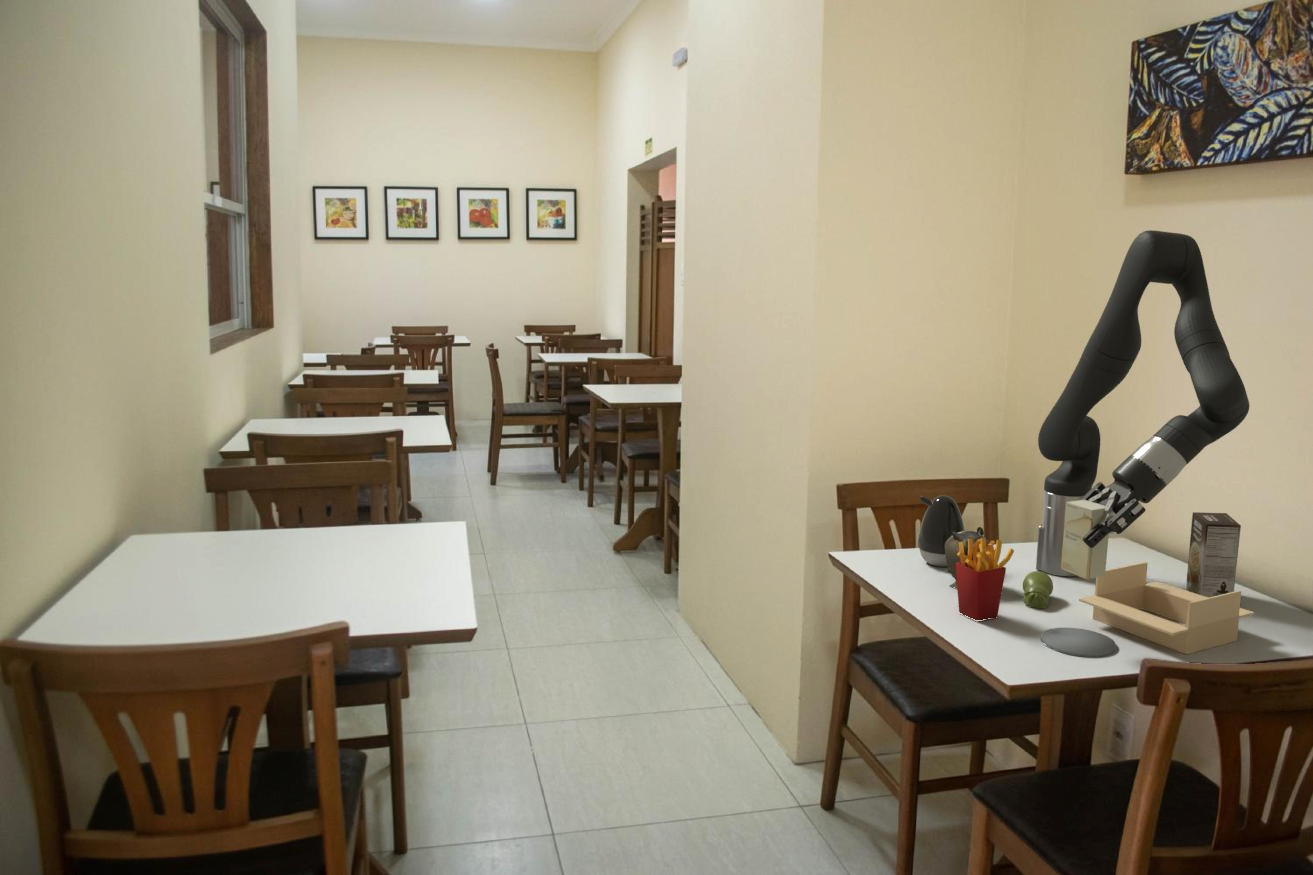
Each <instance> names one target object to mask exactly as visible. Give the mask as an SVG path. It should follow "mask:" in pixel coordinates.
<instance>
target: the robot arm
mask: <svg viewBox="0 0 1313 875" xmlns="http://www.w3.org/2000/svg"><path fill="white" fill-rule="evenodd" d="M1203 260H1204V259H1203V256H1202V252H1201V250H1200V247H1199V245H1198V243H1197V241H1196V240H1195V238H1194V237H1192V236H1190V235H1188V234H1184V233H1178V232H1170V231H1161V230H1145V231H1143V232H1140V233H1139V234H1138V235H1137V236H1136V237H1135V238H1134V239H1133V240H1132V243H1131V244H1130V246H1129V248H1128V250H1127V252H1126V254H1125V257H1124V259H1123V262H1122V264H1121V267H1120V269H1119V273H1118V276H1117V279H1116V281H1115V283H1114V286H1113V289H1112V290H1111V294H1110V296H1109V298H1108V301H1107V303H1106V305H1105V307H1104V309H1103V311H1102V313H1101V316H1100V318H1099V320H1098V322H1097V324H1096V326H1095V328H1094V330H1092V331H1093V332H1092V333H1091V335H1090V336H1089V339H1088V341H1087V343H1086V345H1085V346H1084V349H1083V351H1082V354H1081V356H1080V358H1079V360H1078V362H1077V364H1076V366H1075V368H1074V370H1073V371H1072V374H1071V376H1070V378H1069V379H1068V381H1067V383H1066V386H1065V387H1064V390H1062V393H1061V394H1060V396H1059V398H1058V400H1056V403H1054V405H1053V407H1052V408H1051V410H1050V411H1049V413H1048V415H1047V416H1046V418H1045V420H1043V423H1042V425H1041V427H1040V429H1039V433H1038V436H1037V443H1038V445H1037V446H1038V450H1039V452H1040V454H1041V455H1042V456H1043V457H1044V458H1045V459H1046V460H1048V461H1051V462H1052V461H1054V462H1061V464H1060V465H1059V466H1058V468H1057V469H1056V470H1054V471H1053V472H1051V473H1049V474H1048V475H1047V476H1046V477H1045V479H1044V484H1043V486H1044V487H1043V501H1042V502H1043V504H1042V505H1043V506H1042V517H1041V518H1042V519H1041V521H1042V522H1041V524H1040V525H1039V526H1038V530H1037V531H1038V532H1037V547H1036V562H1035V570H1037V571H1041V572H1044V573H1046V574H1050V575H1055V576H1061V577H1078V576H1077V575H1075V574H1072V573H1070V572H1067V571H1065V570H1062V569H1061V560H1062V548H1063V536H1064V524H1065V513H1066V502H1069V501H1078V500H1087V501H1090V502H1094V503H1098V504H1101V505H1104V506H1105V510H1104V511H1103V514H1104V516H1103V517H1102V519H1101V521H1100V524H1101V525H1099V524H1097V525H1096V526H1095V527H1094V528H1093V529H1092V530H1090V531H1089V532H1088V533H1087V534H1086V535H1085V536H1084V537H1083V539H1082V540H1083V541H1084V543H1085V544H1086V545H1087V546H1089V547H1090V548H1093V547H1095V546H1096V545H1097V544H1098V543H1099V542H1100V541H1101V540H1102V539H1103V538H1104V537H1105V536H1106V535H1107V534H1108V533H1109V535H1112V534H1113V533H1116V534H1117V535H1120V534H1122V533H1123V532H1124V531H1125V530H1126V529H1128V527H1130V526H1131V525H1132V524H1133V523H1134V522H1135V521H1136V520H1137V519H1139V517H1141V516H1142V515H1143V514H1144V513H1145V512H1146V508H1145V507H1144V506H1143V505H1142V504H1149V503H1150V502H1151V501H1152V500H1153V499H1154V498H1155V497H1156V496H1157V495H1158V494H1160V492H1162V491H1163V490H1164V489H1165V488H1166V487H1167V486H1168V485H1169V484H1170V483H1171V482H1172V481H1174V480H1175V478H1177V477H1178V476H1179V475H1180V474H1181V472H1182V471H1183V469H1184V468H1186V466H1187V465H1188V464H1189V463H1190V462H1191V461H1193V459H1195V458H1196V457H1197V456H1198V454H1200V453H1202V451H1203V450H1204V448H1206V447H1207V446H1209V445H1211V444H1213V443H1215V442H1216V441H1218V440H1220V439H1221V438H1222V437H1225V435H1227V434H1229V433H1231V432H1232V431H1234V430H1235V429H1236V428H1237V427H1238V426H1239V425H1240V424H1241V423H1242V422H1243V421H1244V420H1245V419H1246V417H1247V415H1248V413H1249V410H1250V402H1249V398H1248V395H1247V390H1246V388H1245V385H1244V381H1243V380H1242V377H1241V375H1240V373H1239V371H1238V369H1237V367H1236V366H1235V364H1234V362H1233V360H1232V359H1231V355H1230V353H1229V349H1228V346H1227V344H1226V342H1225V340H1224V337H1223V335H1222V332H1221V330H1220V328H1219V326H1218V322H1217V320H1216V317H1215V314H1214V311H1213V307H1212V301H1211V296H1210V290H1209V286H1208V280H1207V276H1206V270H1205V265H1204V261H1203ZM1150 283H1157V284H1166V285H1172V286H1173V288H1174V289H1175V291H1176V293H1177V295H1178V296H1179V300H1180V308H1179V311H1178V314H1177V316H1176V320H1175V323H1174V330H1173V331H1174V332H1173V334H1174V340H1175V344H1176V348H1177V350H1178V352H1179V355H1180V357H1181V360H1182V362H1183V365H1184V366H1185V370H1186V371H1187V373H1188V374H1189V376H1190V379H1191V383H1192V386H1193V389H1194V391H1195V394H1196V395H1195V396H1196V397H1197V402H1198V403H1199V406H1198V407H1197V408H1196V409H1195V410H1194V411H1192V412H1191V413H1190V414H1188V415H1183V414H1178V415H1175V416H1173V417H1172V418H1171V419H1169V420H1168V421H1167V422H1166V423H1165V424H1164V425H1163V426H1162V427H1161V428H1160V429H1158V431H1156V433H1154V434H1153V435H1152V436H1151V437H1150V438H1149V439H1147V440H1146V441H1145V442H1143V443H1142V444H1141V445H1140V446H1138V447H1137V448H1136V449H1135V450H1134V451H1133V452H1132V453H1131V454H1130V455H1129V456H1127V458H1126V459H1125V460H1123V461H1122V462H1121V463H1120V464H1119V465H1118V466H1117V467H1116V468H1115V469H1114V470H1113V471H1112V473H1111V474H1112V478H1113V479H1114V481H1113V482H1112V483H1110V484H1109V485H1107V486H1105V484H1104V483H1103V482H1102V481H1098V482H1097V483H1096V484H1095V485H1094V483H1095V481H1096V480H1097V474H1098V465H1099V461H1100V460H1099V458H1100V453H1101V452H1100V451H1101V432H1100V431H1101V430H1100V428H1099V426H1098V423H1097V422H1096V420H1094V418H1092V417H1090V416H1088V414H1089V413H1090V411H1091V410H1092V409H1093V408H1094V407H1095V406H1096V405H1097V404H1098V403H1099V402H1101V401H1102V400H1103V399H1104V398H1106V396H1107V395H1108V394H1110V393H1111V392H1113V390H1115V389H1116V387H1118V386H1119V385H1120V384H1121V383H1122V382H1123V380H1124V379H1125V378H1126V376H1127V375H1128V374H1129V372H1130V370H1131V368H1132V367H1133V364H1134V363H1135V361H1136V360H1137V358H1138V355H1139V353H1140V351H1141V348H1142V347H1141V346H1142V331H1141V326H1140V322H1139V311H1138V310H1139V305H1140V302H1141V299H1142V297H1143V295H1144V292H1145V290H1146V289H1147V287H1148V286H1149V284H1150ZM1093 485H1094V486H1093ZM1141 503H1142V504H1141ZM1109 519H1110V520H1109Z"/></svg>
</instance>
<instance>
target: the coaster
mask: <svg viewBox="0 0 1313 875" xmlns="http://www.w3.org/2000/svg"><path fill="white" fill-rule="evenodd" d="M1041 640H1042V641H1041ZM1040 641H1041V643H1042V642H1043V643H1045V644H1046V645H1047V646H1049V647H1051V648H1053V649H1055V650H1057V651H1056V652H1058V651H1060V652H1059V653H1061V652H1062V654H1065V653H1066V654H1065V655H1069V656H1074V657H1084V658H1099V657H1105V656H1109V655H1112V654H1113V653H1114V652H1116V647H1117V645H1116V642H1115V640H1114V639H1112V638H1111V637H1109V636H1108V635H1105V634H1104V633H1103V634H1102V633H1100V632H1098V631H1094V630H1089V629H1085V628H1079V627H1053V628H1049V629H1046V630H1045V631H1043V632H1042V633H1041V634H1040ZM1043 643H1042V644H1043ZM1047 646H1046V647H1047ZM1049 647H1048V648H1049ZM1053 649H1052V650H1053ZM1055 650H1054V651H1055Z"/></svg>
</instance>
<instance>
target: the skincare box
mask: <svg viewBox="0 0 1313 875" xmlns="http://www.w3.org/2000/svg"><path fill="white" fill-rule="evenodd" d="M1104 510H1105V506H1104V505H1101V504H1098V503H1094V502H1090V501H1087V500H1078V501H1069V502H1066V513H1065V524H1064V536H1063V548H1062V560H1061V569H1062V570H1065V571H1067V572H1070V573H1072V574H1075V575H1077V576H1076V577H1080V578H1082V579H1086V580H1087V579H1089V580H1090V579H1096V577H1102V576H1105V570H1107V557H1108V547H1109V535H1110V534H1109V533H1108V534H1107V535H1106V536H1105V537H1104V538H1103V539H1102V540H1101V541H1100V542H1099V543H1098V544H1097V545H1096V546H1095V547H1093V548H1090V547H1089V546H1087V545H1086V544H1085V543H1084V541H1083V540H1082V539H1083V537H1084V536H1085V535H1086V534H1087V533H1088V532H1089V531H1090V530H1092V529H1093V528H1094V527H1095V526H1096V525H1097V524H1099V525H1101V524H1100V521H1101V519H1102V517H1103V516H1104V514H1103V511H1104ZM1109 520H1110V519H1109Z"/></svg>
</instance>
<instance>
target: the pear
mask: <svg viewBox="0 0 1313 875" xmlns="http://www.w3.org/2000/svg"><path fill="white" fill-rule="evenodd" d="M1022 590H1023V592H1024V593H1023V594H1024V597H1023V600H1022V601H1023V603H1024V604H1025V607H1028V606H1031V607H1030V608H1034V607H1037V608H1036V609H1046V608H1047V607H1048V606H1049V603H1050V602H1049V597H1050V596H1051V595H1052V593H1053V591H1054V583H1053V579H1052V578H1051V577H1050V575H1048V573H1046V572H1044V571H1042V570H1037V571H1036V570H1035V571H1032V572H1031V571H1030V572H1029V573H1028V574H1027V575H1026V576H1025V577H1024V579H1023V582H1022Z"/></svg>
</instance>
